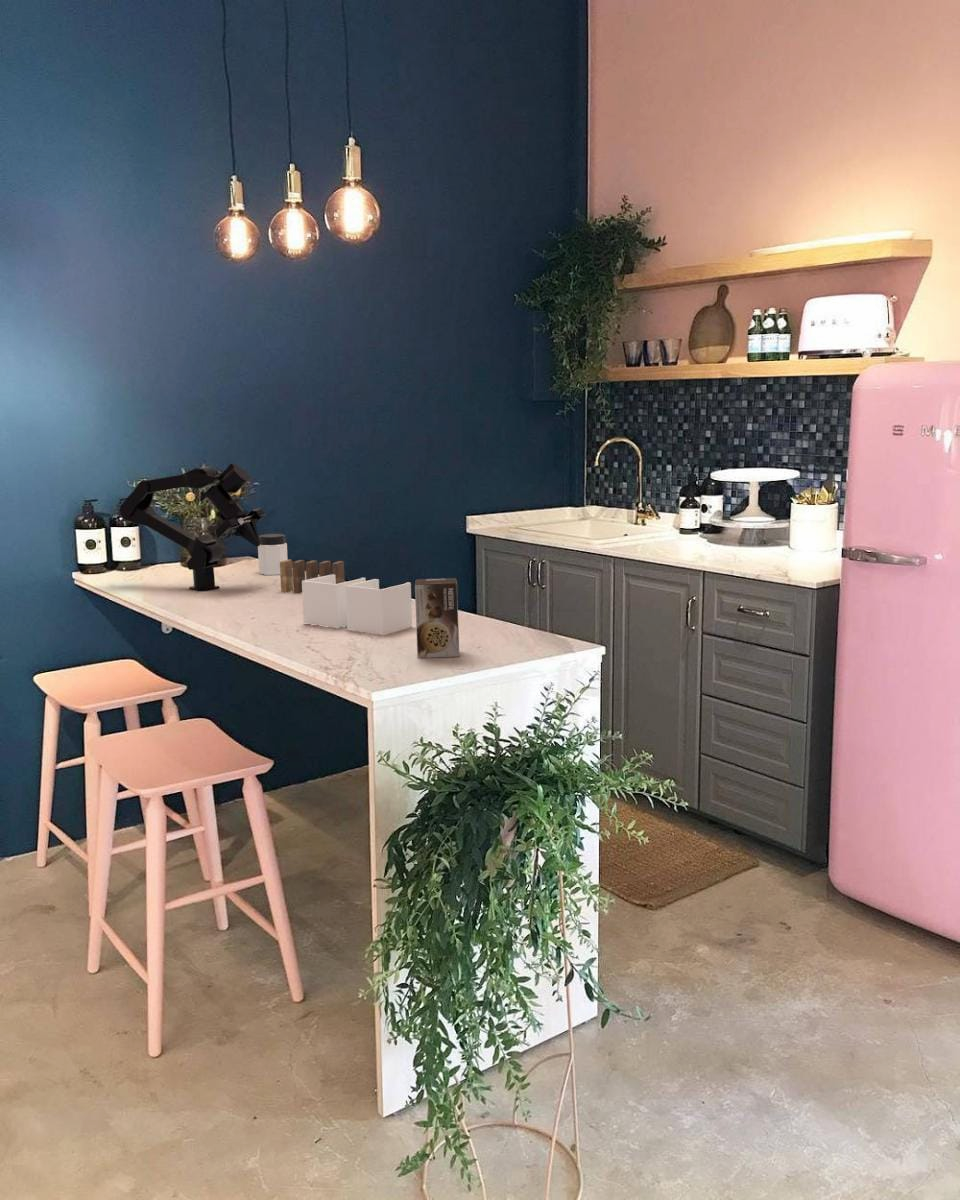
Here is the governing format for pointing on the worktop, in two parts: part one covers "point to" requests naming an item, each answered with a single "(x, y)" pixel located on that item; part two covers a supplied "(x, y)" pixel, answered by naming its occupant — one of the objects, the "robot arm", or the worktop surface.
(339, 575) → the domino
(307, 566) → the domino
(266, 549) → the jar
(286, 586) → the domino
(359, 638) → the worktop surface
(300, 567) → the domino
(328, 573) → the domino
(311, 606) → the white open box
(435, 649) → the coffee box
